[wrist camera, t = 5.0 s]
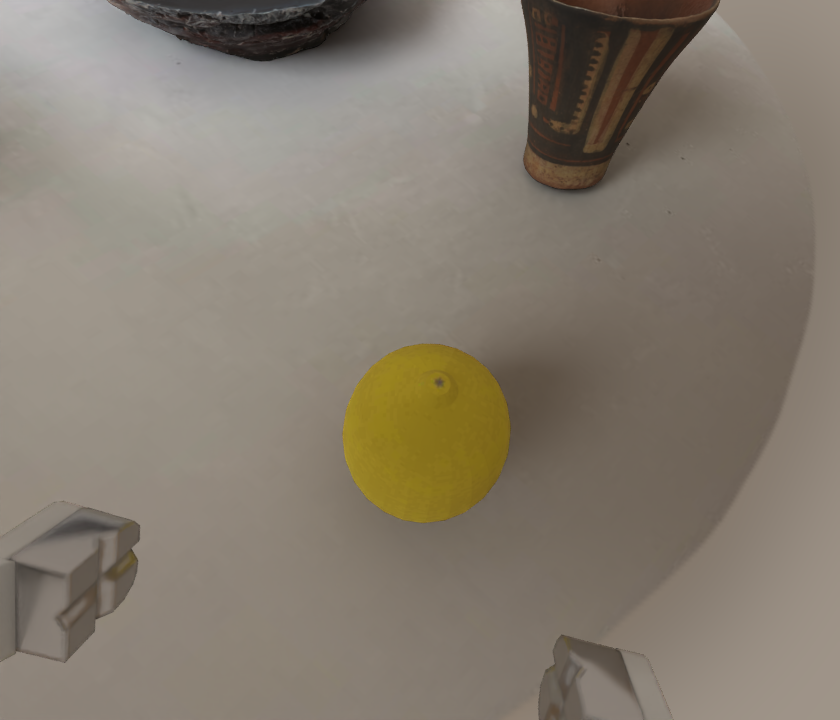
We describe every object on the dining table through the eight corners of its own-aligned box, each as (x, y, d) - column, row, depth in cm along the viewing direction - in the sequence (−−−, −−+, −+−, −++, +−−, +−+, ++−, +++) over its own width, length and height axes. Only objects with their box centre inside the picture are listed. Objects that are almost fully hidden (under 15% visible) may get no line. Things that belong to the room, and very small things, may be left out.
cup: (552, 95, 33) (613, -96, 25) (654, 172, 30) (766, -15, 22) (452, 140, 30) (482, -59, 22) (554, 231, 27) (637, 42, 19)
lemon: (479, 550, 19) (539, 500, 12) (336, 528, 19) (311, 466, 12) (488, 417, 22) (541, 313, 15) (362, 398, 22) (355, 285, 15)
